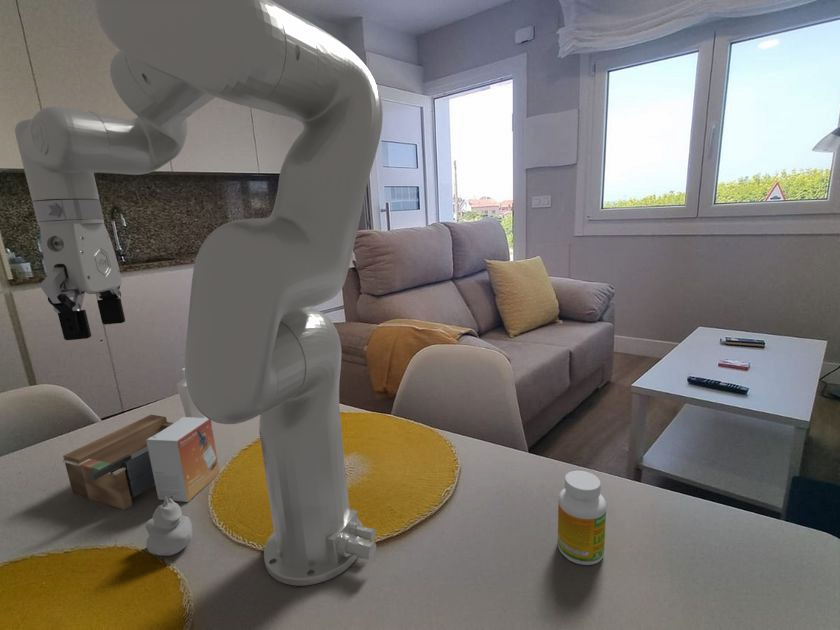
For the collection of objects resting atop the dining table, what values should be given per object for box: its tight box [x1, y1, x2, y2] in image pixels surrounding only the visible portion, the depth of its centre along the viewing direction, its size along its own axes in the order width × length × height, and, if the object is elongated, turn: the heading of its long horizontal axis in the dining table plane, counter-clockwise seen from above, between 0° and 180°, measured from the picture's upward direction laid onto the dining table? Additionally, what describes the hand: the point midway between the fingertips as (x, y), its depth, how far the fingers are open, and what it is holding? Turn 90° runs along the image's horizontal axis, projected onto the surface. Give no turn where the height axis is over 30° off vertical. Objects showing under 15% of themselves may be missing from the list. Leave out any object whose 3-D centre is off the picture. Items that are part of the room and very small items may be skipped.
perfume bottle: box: [176, 367, 206, 418], centre depth 85 cm, size 5×4×15 cm
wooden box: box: [62, 414, 174, 510], centre depth 74 cm, size 12×16×7 cm
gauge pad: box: [90, 447, 155, 498], centre depth 70 cm, size 3×16×6 cm, turn 158°
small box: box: [146, 416, 220, 503], centre depth 70 cm, size 8×6×10 cm
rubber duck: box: [144, 497, 193, 557], centre depth 57 cm, size 5×7×8 cm
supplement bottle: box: [557, 470, 607, 566], centre depth 52 cm, size 5×5×10 cm
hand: (97, 330), depth 65 cm, fingers open, 9 cm apart
